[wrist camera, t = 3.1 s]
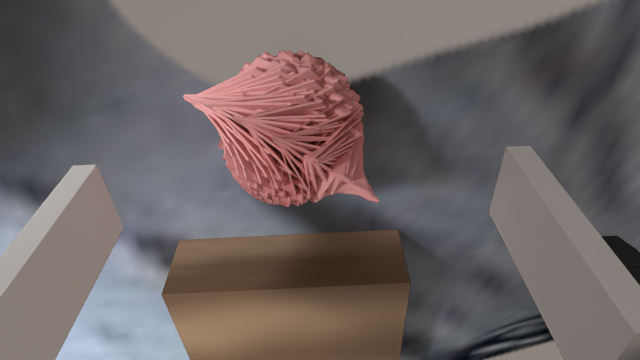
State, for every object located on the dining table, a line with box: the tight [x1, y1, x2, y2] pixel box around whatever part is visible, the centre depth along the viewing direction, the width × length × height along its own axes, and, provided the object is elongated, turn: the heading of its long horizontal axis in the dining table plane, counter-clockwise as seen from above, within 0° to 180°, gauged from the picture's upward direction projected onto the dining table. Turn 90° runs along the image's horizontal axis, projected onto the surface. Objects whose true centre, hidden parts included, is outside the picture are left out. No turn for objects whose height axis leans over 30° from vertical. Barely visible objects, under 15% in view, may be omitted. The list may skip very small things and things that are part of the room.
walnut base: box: [162, 229, 411, 360], centre depth 25 cm, size 12×12×4 cm
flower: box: [183, 50, 379, 207], centre depth 16 cm, size 8×8×6 cm
